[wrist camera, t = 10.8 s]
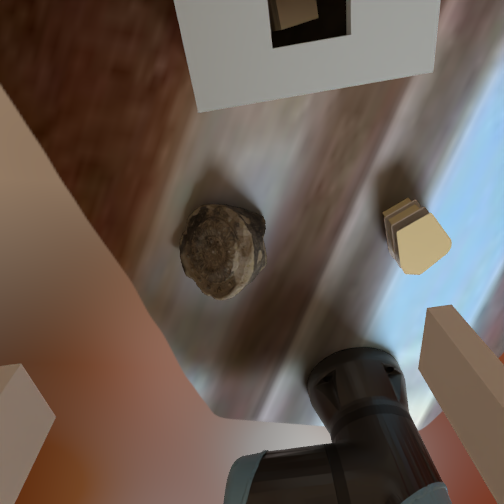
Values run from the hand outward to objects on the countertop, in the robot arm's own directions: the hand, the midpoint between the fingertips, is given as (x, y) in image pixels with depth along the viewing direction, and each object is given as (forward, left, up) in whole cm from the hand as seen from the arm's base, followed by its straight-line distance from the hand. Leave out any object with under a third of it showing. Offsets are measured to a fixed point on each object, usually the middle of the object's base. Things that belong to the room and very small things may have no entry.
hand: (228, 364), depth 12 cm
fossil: (-11, +3, -30) cm, 32 cm away
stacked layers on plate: (-13, -19, -30) cm, 38 cm away
